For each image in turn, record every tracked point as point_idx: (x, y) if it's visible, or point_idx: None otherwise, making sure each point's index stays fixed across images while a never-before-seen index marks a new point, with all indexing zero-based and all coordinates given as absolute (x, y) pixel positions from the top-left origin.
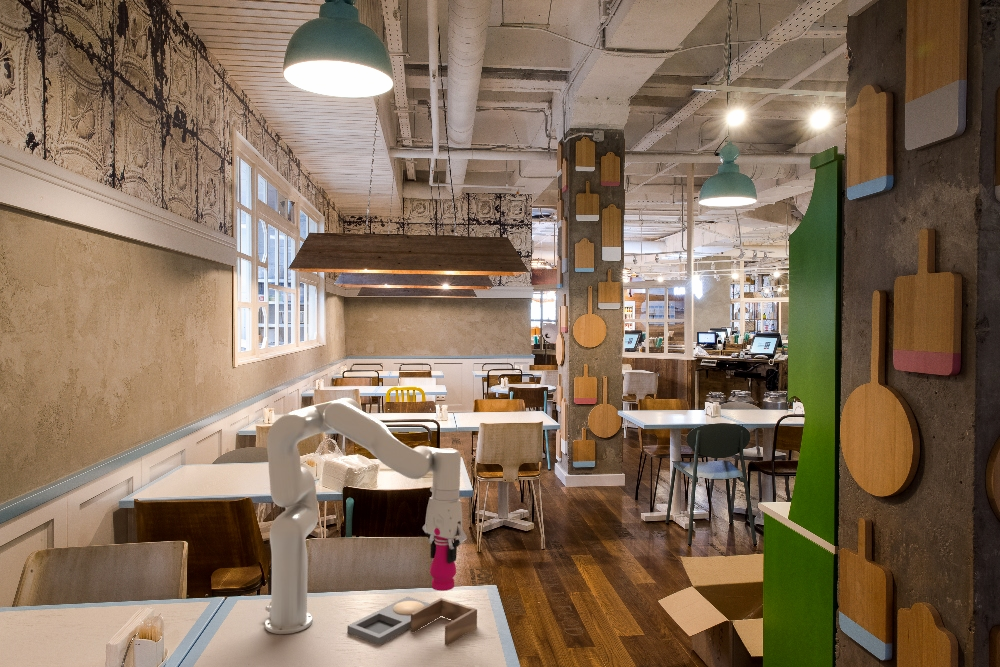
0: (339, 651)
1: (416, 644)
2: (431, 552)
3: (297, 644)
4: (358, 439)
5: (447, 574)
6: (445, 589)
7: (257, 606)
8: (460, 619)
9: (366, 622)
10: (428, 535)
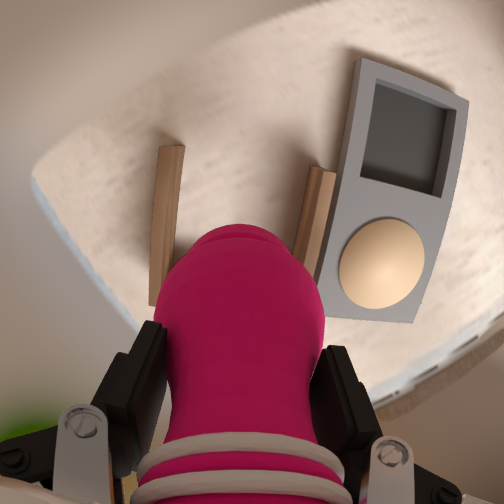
0: (416, 14)
1: (262, 107)
2: (346, 374)
3: (495, 32)
4: None
5: (170, 273)
6: (197, 240)
7: None
8: (152, 217)
9: (446, 148)
10: (435, 492)
